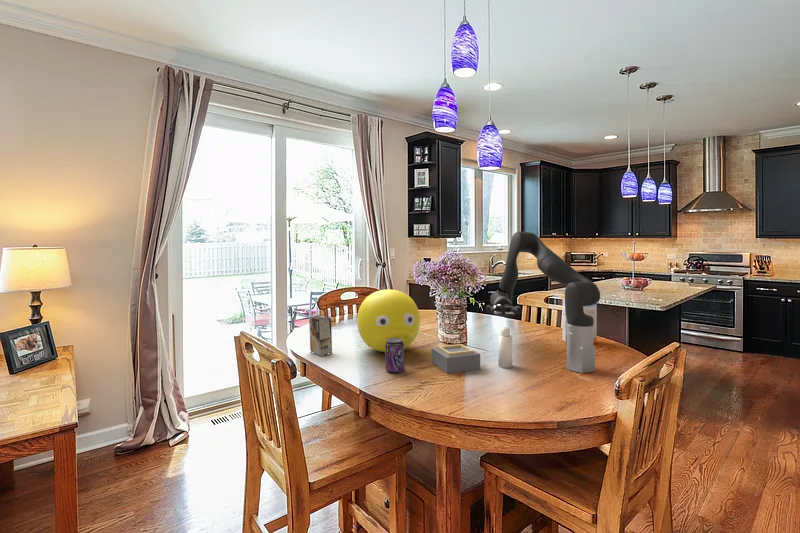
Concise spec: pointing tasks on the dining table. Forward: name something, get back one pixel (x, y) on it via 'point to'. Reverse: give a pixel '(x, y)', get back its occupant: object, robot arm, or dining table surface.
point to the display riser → (455, 358)
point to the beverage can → (394, 355)
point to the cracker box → (589, 311)
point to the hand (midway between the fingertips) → (504, 312)
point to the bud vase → (505, 348)
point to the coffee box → (320, 335)
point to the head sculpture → (388, 318)
